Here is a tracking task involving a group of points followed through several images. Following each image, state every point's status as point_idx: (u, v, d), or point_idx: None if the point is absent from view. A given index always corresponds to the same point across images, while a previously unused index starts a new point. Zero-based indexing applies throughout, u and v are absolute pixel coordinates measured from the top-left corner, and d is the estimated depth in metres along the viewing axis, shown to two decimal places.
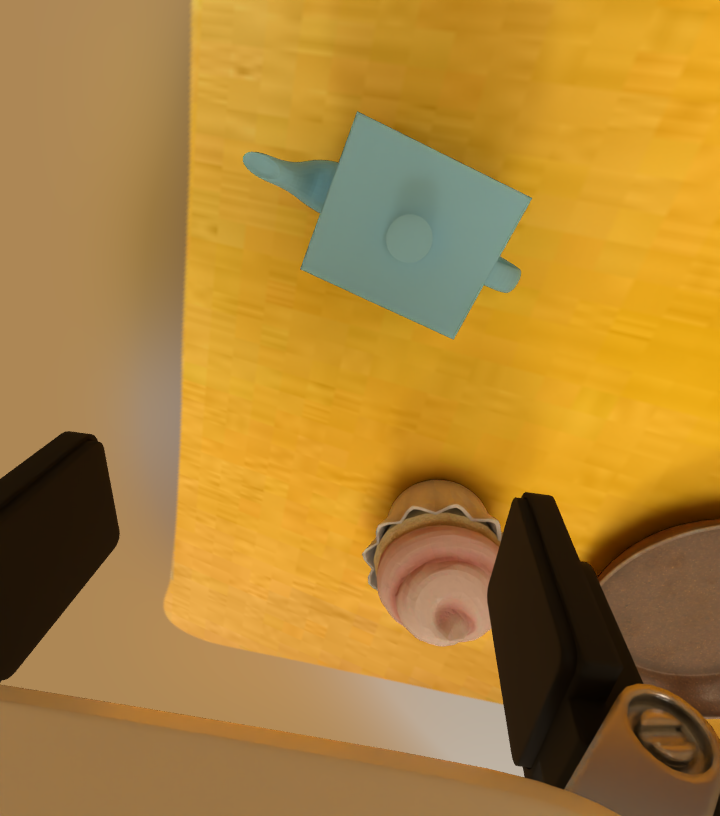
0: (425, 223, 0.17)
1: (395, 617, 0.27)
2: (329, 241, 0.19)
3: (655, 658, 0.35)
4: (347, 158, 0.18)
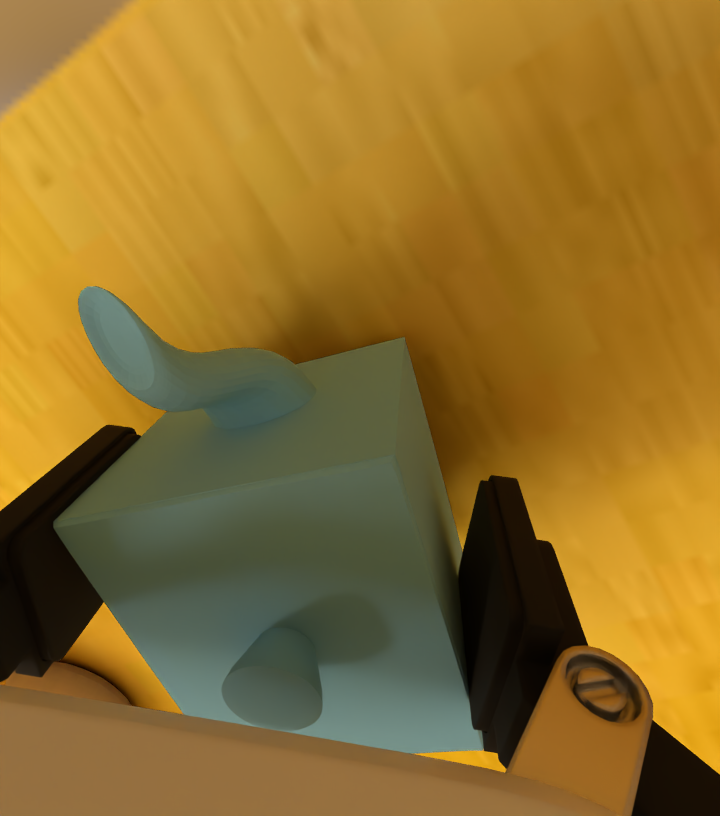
0: (318, 709, 0.08)
1: None
2: (146, 545, 0.08)
3: None
4: (301, 492, 0.07)
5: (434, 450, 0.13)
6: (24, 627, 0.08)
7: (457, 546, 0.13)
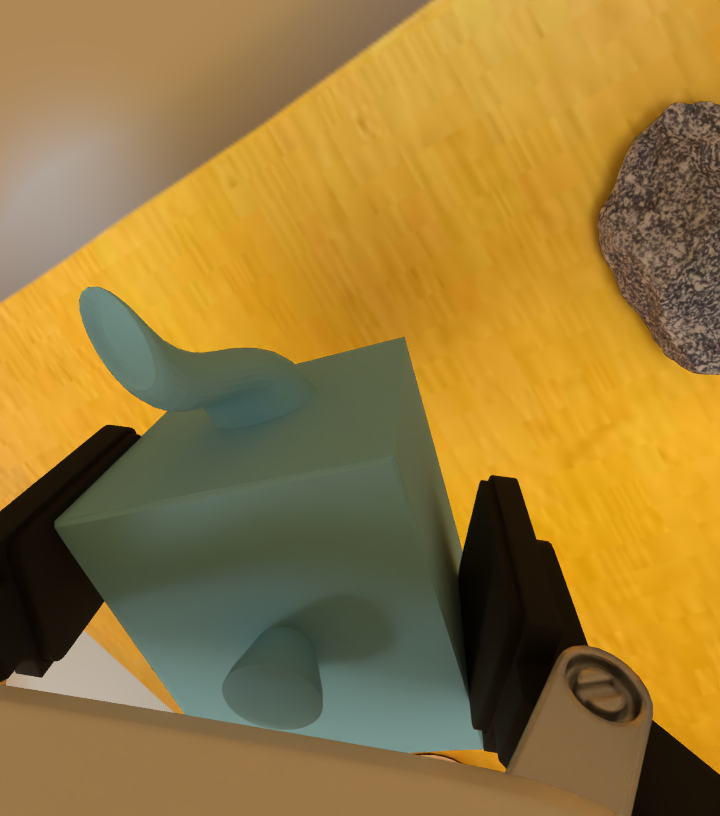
0: (318, 708, 0.08)
1: None
2: (148, 545, 0.08)
3: None
4: (301, 492, 0.07)
5: (434, 450, 0.13)
6: (23, 627, 0.08)
7: (457, 546, 0.13)
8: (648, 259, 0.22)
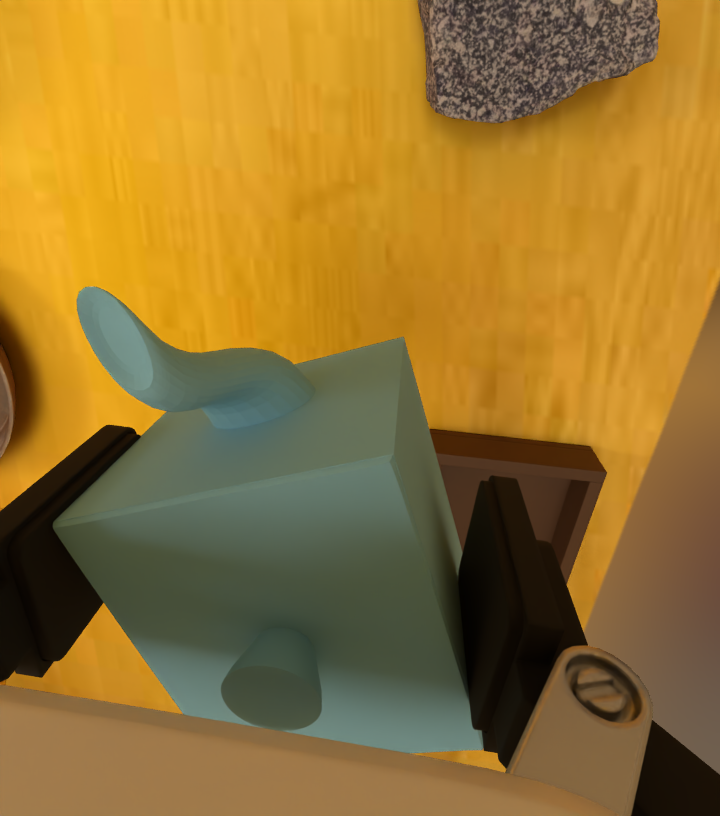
0: (317, 709, 0.08)
1: None
2: (146, 545, 0.08)
3: None
4: (300, 492, 0.07)
5: (433, 450, 0.13)
6: (24, 627, 0.08)
7: (457, 546, 0.13)
8: None
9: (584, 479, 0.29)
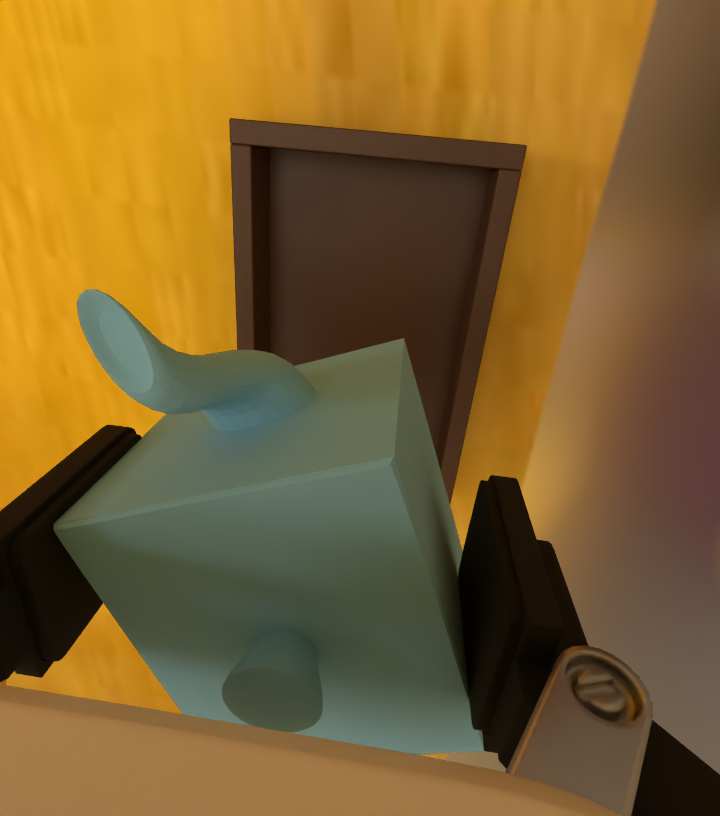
0: (318, 711, 0.08)
1: None
2: (146, 547, 0.08)
3: None
4: (300, 494, 0.07)
5: (434, 451, 0.13)
6: (23, 627, 0.08)
7: (457, 547, 0.13)
8: None
9: (489, 163, 0.17)
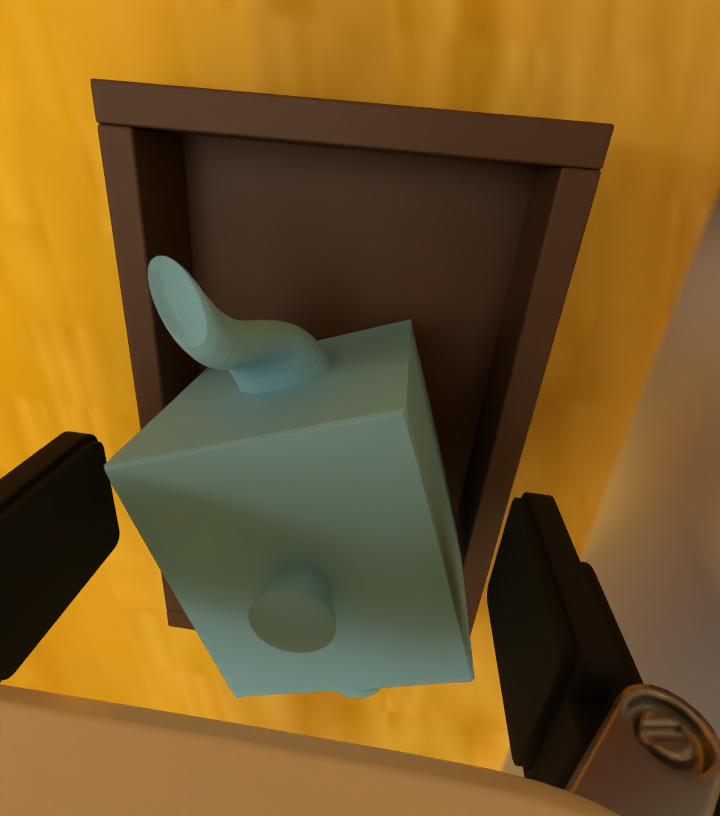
0: (332, 632, 0.09)
1: None
2: (186, 487, 0.09)
3: None
4: (325, 440, 0.08)
5: (434, 424, 0.14)
6: None
7: (452, 513, 0.14)
8: None
9: (545, 157, 0.10)
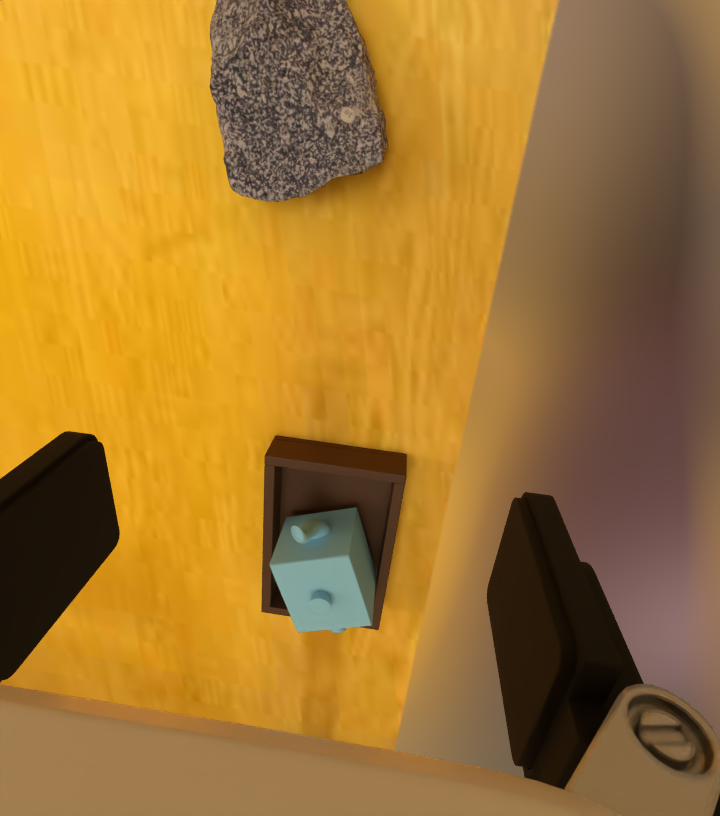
0: (330, 609, 0.35)
1: None
2: (291, 570, 0.35)
3: None
4: (329, 561, 0.34)
5: (365, 539, 0.40)
6: None
7: (372, 570, 0.40)
8: (216, 43, 0.24)
9: (389, 481, 0.35)
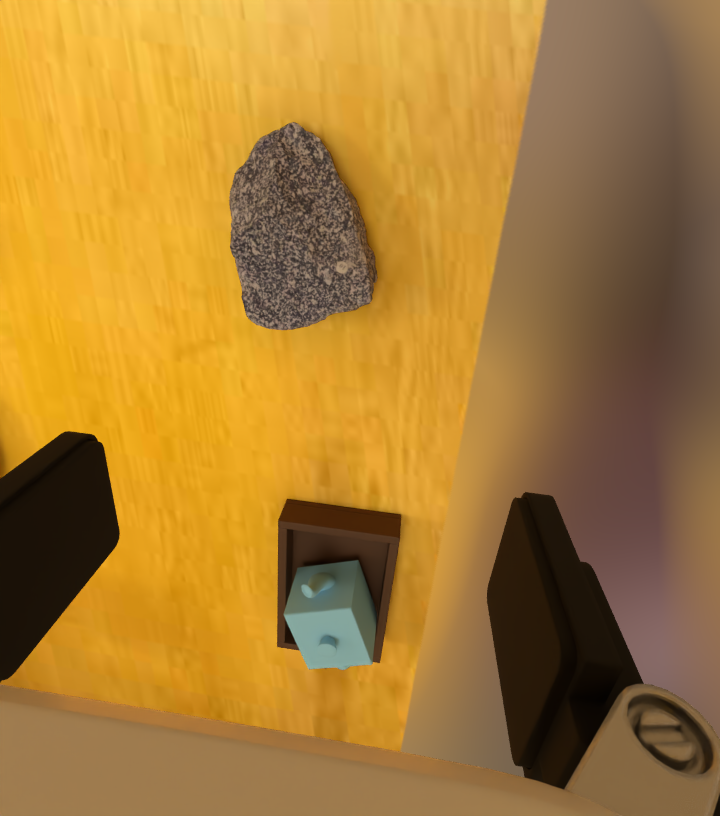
0: (335, 652, 0.41)
1: None
2: (302, 619, 0.41)
3: None
4: (334, 612, 0.40)
5: (366, 586, 0.46)
6: None
7: (373, 612, 0.46)
8: (235, 214, 0.30)
9: (385, 541, 0.41)
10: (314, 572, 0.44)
